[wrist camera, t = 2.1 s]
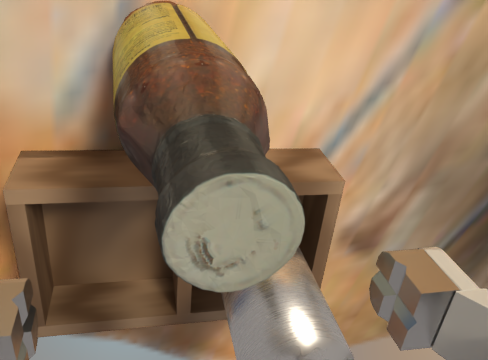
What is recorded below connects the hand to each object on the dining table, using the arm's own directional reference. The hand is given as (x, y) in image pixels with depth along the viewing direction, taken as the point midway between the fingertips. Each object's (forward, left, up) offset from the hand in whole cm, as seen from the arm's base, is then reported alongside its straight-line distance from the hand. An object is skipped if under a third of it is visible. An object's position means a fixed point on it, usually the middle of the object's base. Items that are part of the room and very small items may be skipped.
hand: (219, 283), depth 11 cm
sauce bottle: (0, 0, -22) cm, 22 cm away
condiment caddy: (-1, +13, -21) cm, 25 cm away
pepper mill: (-6, +13, -21) cm, 26 cm away
